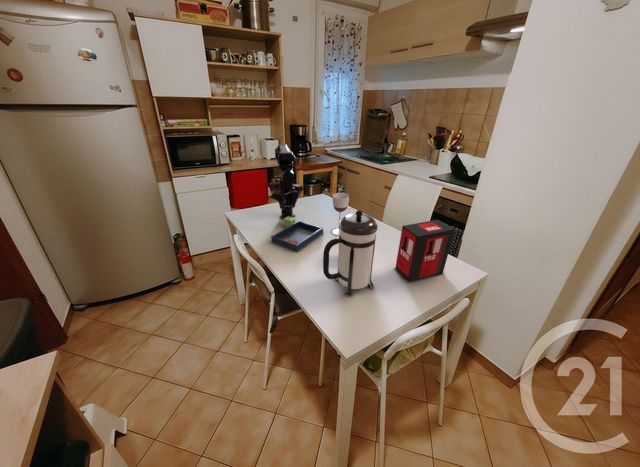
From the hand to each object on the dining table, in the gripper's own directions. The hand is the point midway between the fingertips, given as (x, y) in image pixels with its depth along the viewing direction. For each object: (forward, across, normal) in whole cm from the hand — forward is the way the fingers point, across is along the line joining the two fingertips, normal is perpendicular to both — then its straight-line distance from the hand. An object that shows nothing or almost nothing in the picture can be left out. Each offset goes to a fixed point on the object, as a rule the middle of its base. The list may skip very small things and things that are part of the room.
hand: (288, 207), depth 138 cm
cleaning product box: (+11, +3, +70) cm, 71 cm away
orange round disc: (+10, +15, +15) cm, 24 cm away
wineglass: (+11, -9, +26) cm, 30 cm away
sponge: (+11, 0, 0) cm, 11 cm away
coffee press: (+11, +26, +51) cm, 58 cm away
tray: (+11, +8, +12) cm, 18 cm away
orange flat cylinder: (+10, +15, +10) cm, 21 cm away
